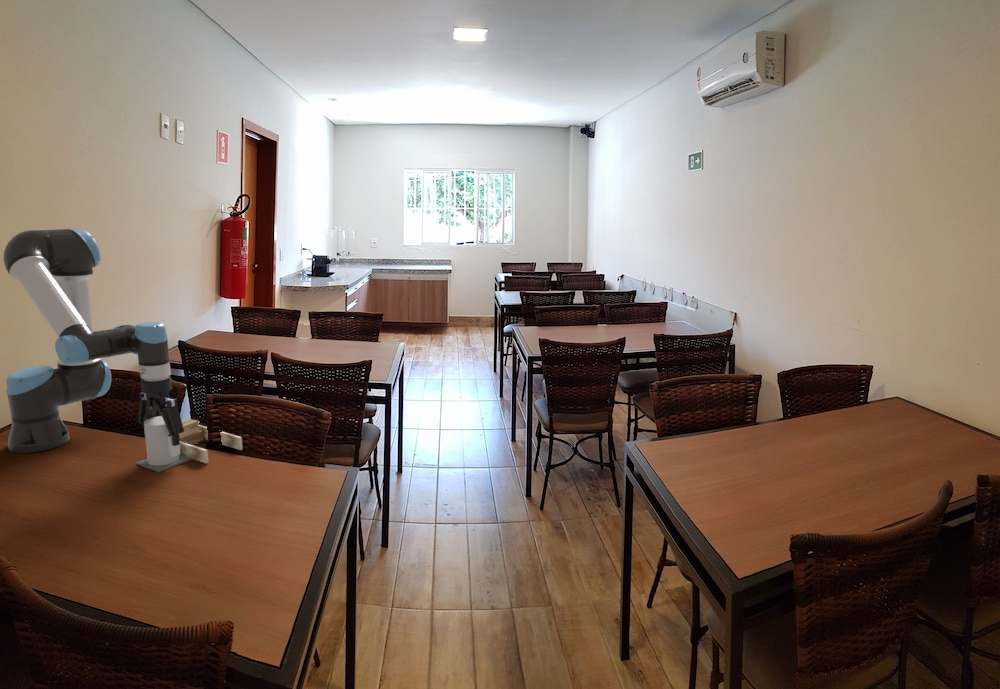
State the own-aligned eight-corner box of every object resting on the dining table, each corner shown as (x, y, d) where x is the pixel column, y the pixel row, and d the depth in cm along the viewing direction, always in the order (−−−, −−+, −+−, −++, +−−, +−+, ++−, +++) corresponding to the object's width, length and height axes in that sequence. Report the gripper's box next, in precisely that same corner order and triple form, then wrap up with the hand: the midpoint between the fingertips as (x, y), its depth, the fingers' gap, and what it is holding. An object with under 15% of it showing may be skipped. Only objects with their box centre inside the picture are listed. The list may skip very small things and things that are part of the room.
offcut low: (168, 447, 191) (167, 437, 190) (195, 438, 198) (194, 428, 197) (176, 450, 189) (175, 439, 188) (203, 441, 196) (202, 430, 195)
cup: (185, 455, 183) (182, 416, 180) (168, 466, 175) (164, 426, 172) (159, 453, 184) (156, 414, 181) (141, 464, 176) (137, 424, 173)
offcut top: (170, 436, 190) (169, 426, 189) (188, 429, 197) (187, 418, 196) (181, 438, 189) (180, 427, 188) (198, 431, 195) (197, 420, 195)
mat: (137, 464, 178) (136, 462, 177) (169, 452, 186) (169, 450, 186) (158, 472, 173) (158, 470, 173) (191, 459, 181) (191, 457, 181)
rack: (159, 447, 189) (157, 435, 188) (196, 435, 200) (195, 423, 199) (206, 463, 179) (204, 450, 178) (242, 449, 190) (241, 437, 189)
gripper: (118, 374, 176) (126, 447, 181) (168, 387, 165) (176, 464, 170) (144, 368, 182) (151, 439, 187) (193, 380, 172) (200, 455, 177)
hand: (163, 451), depth 179 cm, fingers open, 10 cm apart
